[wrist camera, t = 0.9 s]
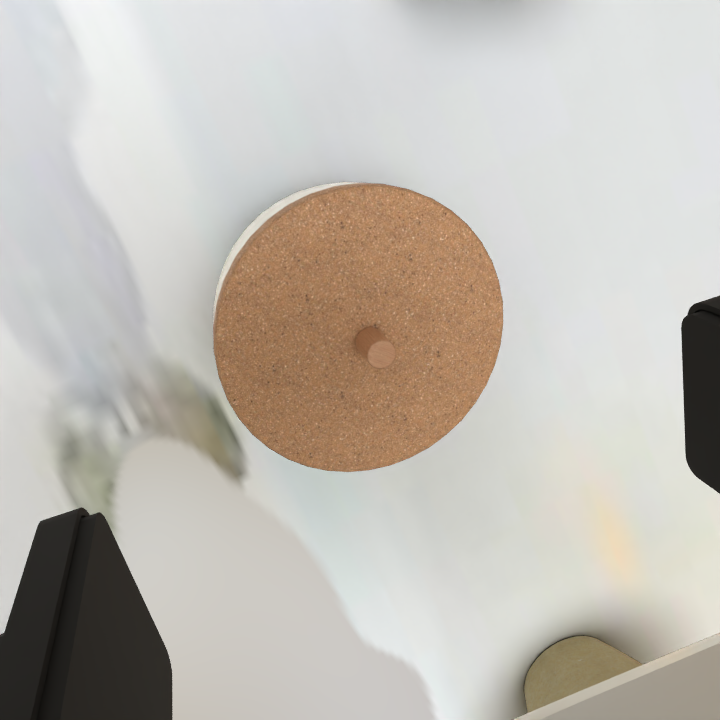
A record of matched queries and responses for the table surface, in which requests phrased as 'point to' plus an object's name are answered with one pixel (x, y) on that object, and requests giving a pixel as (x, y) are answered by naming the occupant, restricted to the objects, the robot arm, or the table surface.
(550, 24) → the table surface
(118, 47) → the table surface
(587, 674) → the plant pot
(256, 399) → the lidded bowl
